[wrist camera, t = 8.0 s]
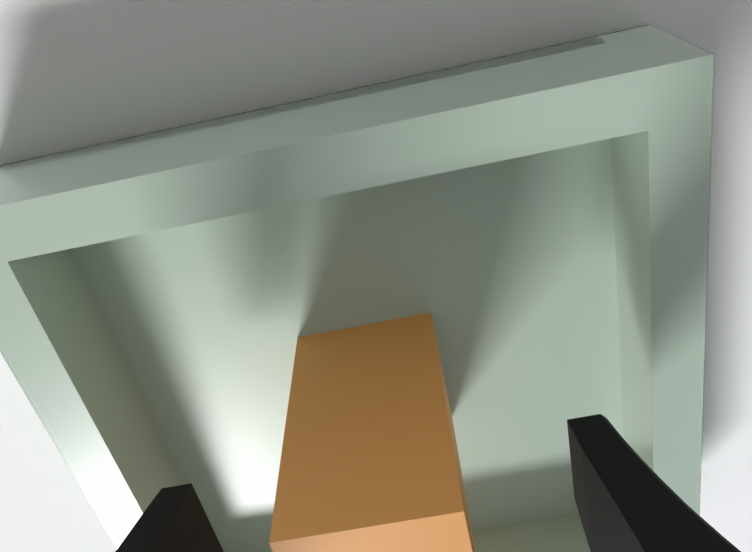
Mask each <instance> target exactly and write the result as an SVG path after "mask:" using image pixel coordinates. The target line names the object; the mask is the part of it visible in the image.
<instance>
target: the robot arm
mask: <svg viewBox="0 0 752 552" xmlns="http://www.w3.org/2000/svg"><path fill="white" fill-rule="evenodd" d="M567 426H568V436H569V447H570V457H571V467H572V478H573V488H574V498H575V501H576V505H577V508H578V512H579V515H580V518H581V522H582V525H583V529H584V532H585V535H586V538H587V542H588V545H589V548H590V551H591V552H741V551H740V550H738V549H737V548H736V547H735V546H734V545H732V544H731V543H730V542H729V541H728V540H726V539H725V538H724V537H723V536H722V535H721V534H719V533H718V532H717V531H716V530H715V529H714V528H713V527H711V526H710V525H709V524H708V523H707V522H706V521H705V520H704V519H702V518H701V517H700V516H699V515H698V514H697V513H696V512H695V511H694V510H693V509H692V508H690V507H689V506H688V505H687V504H686V503H685V502H684V501H683V500H682V499H681V498H680V497H679V496H678V495H677V494H676V493H675V492H674V491H673V490H672V489H671V488H670V487H669V486H668V485H667V484H666V483H665V482H664V481H663V480H662V479H661V478H660V477H659V476H658V475H657V474H656V473H655V472H654V471H653V470H652V469H651V468H650V467H649V466H648V465H647V464H646V463H645V462H644V461H643V460H642V458H641V457H640V456H639V455H638V454H637V453H636V452H635V451H634V450H633V449H632V448H631V446H630V445H629V444H628V443H627V442H626V441H625V440H624V438H623V437H622V436H621V435H620V434H619V433H618V431H617V430H616V429H615V428H614V427H613V425H612V424H611V423H610V422H609V420H608V419H607V418H606V417H604V416H603V415H601V414H597V415H591V416H585V417H579V418H574V419H568V420H567ZM116 552H224V551H223V549H222V547H221V545H220V543H219V540H218V538H217V536H216V534H215V532H214V530H213V528H212V526H211V523H210V521H209V519H208V517H207V515H206V513H205V511H204V509H203V507H202V504H201V502H200V500H199V498H198V496H197V494H196V492H195V490H194V487H193V485H192V483H190V484H185V485H179V486H173V487H167V488H161V490H160V491H159V492H158V494H157V495H156V496H155V498H154V499H153V501H152V502H151V503H150V505H149V506H148V507H147V509H146V510H145V512H144V513H143V514H142V516H141V517H140V518H139V520H138V521H137V523H136V524H135V525H134V527H133V528H132V530H131V531H130V532H129V534H128V535H127V537H126V538H125V539H124V541H123V542H122V543H121V545H120V546H119V548H118V549H117V550H116Z"/></svg>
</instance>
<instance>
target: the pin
mask: <svg viewBox="0 0 752 552" xmlns="http://www.w3.org/2000/svg"><path fill="white" fill-rule="evenodd" d="M269 544H270V547H271V549H272V551H273V552H475V546H474V541H473V535H472V529H471V523H470V517H469V512H468V506H467V500H466V494H465V489H464V483H463V477H462V471H461V466H460V460H459V454H458V448H457V443H456V437H455V431H454V425H453V419H452V414H451V409H450V404H449V399H448V394H447V389H446V384H445V380H444V375H443V370H442V365H441V360H440V355H439V350H438V345H437V340H436V335H435V330H434V325H433V320H432V315H431V313H425V314H420V315H415V316H409V317H404V318H399V319H393V320H388V321H383V322H377V323H372V324H367V325H361V326H356V327H350V328H345V329H340V330H334V331H329V332H324V333H318V334H313V335H308V336H302V337H297V344H296V352H295V359H294V366H293V373H292V381H291V388H290V395H289V402H288V409H287V417H286V424H285V431H284V438H283V445H282V453H281V460H280V467H279V474H278V482H277V489H276V496H275V503H274V510H273V518H272V525H271V532H270V539H269Z"/></svg>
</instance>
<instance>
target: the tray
mask: <svg viewBox="0 0 752 552" xmlns="http://www.w3.org/2000/svg"><path fill="white" fill-rule="evenodd" d="M713 66H714V54H712V53H710V52H708V51H705V50H703V49H701V48H699V47H697V46H695V45H693V44H691V43H689V42H687V41H684V40H682V39H680V38H678V37H676V36H674V35H672V34H670V33H668V32H665V31H663V30H661V29H659V28H657V27H655V26H653V25H647V26H643V27H638V28H633V29H629V30H624V31H619V32H615V33H610V34H606V35H601V36H596V37H592V38H587V39H583V40H578V41H573V42H569V43H564V44H560V45H555V46H550V47H546V48H541V49H537V50H532V51H527V52H523V53H518V54H513V55H509V56H504V57H500V58H495V59H490V60H486V61H481V62H477V63H472V64H467V65H463V66H458V67H454V68H449V69H444V70H440V71H435V72H431V73H426V74H421V75H417V76H412V77H407V78H403V79H398V80H394V81H389V82H384V83H380V84H375V85H371V86H366V87H361V88H357V89H352V90H348V91H343V92H338V93H334V94H329V95H325V96H320V97H315V98H311V99H306V100H301V101H297V102H292V103H288V104H283V105H278V106H274V107H269V108H265V109H260V110H255V111H251V112H246V113H242V114H237V115H232V116H228V117H223V118H218V119H214V120H209V121H205V122H200V123H195V124H191V125H186V126H182V127H177V128H172V129H168V130H163V131H159V132H154V133H149V134H145V135H140V136H136V137H131V138H126V139H122V140H117V141H112V142H108V143H103V144H99V145H94V146H89V147H85V148H80V149H76V150H71V151H66V152H62V153H57V154H53V155H48V156H43V157H39V158H34V159H30V160H25V161H20V162H16V163H11V164H6V165H2V166H0V352H1V354H2V355H3V357H4V359H5V361H6V362H7V364H8V366H9V367H10V369H11V371H12V372H13V374H14V376H15V378H16V379H17V381H18V383H19V384H20V386H21V388H22V389H23V391H24V393H25V395H26V396H27V398H28V400H29V401H30V403H31V405H32V406H33V408H34V410H35V412H36V413H37V415H38V417H39V418H40V420H41V422H42V423H43V425H44V427H45V429H46V430H47V432H48V434H49V435H50V437H51V439H52V440H53V442H54V444H55V446H56V447H57V449H58V451H59V452H60V454H61V456H62V457H63V459H64V461H65V462H66V464H67V466H68V468H69V469H70V471H71V473H72V474H73V476H74V478H75V479H76V481H77V483H78V485H79V486H80V488H81V490H82V491H83V493H84V495H85V496H86V498H87V500H88V502H89V503H90V505H91V507H92V508H93V510H94V512H95V513H96V515H97V517H98V519H99V520H100V522H101V524H102V525H103V527H104V529H105V530H106V532H107V534H108V536H109V537H110V539H111V541H112V542H113V544H114V546H115V547H116V549H118V548H119V546H120V545H121V543H122V542H123V541H124V539H125V538H126V537H127V535H128V534H129V532H130V531H131V530H132V528H133V527H134V525H135V524H136V523H137V521H138V520H139V518H140V517H141V516H142V514H143V513H144V512H145V510H146V509H147V507H148V506H149V505H150V503H151V502H152V501H153V499H154V498H155V496H156V495H157V494H158V492H159V491H160V490H161V488H167V487H173V486H179V485H185V484H190V483H192V485H193V487H194V490H195V492H196V494H197V496H198V498H199V500H200V502H201V504H202V507H203V509H204V511H205V513H206V515H207V517H208V519H209V521H210V523H211V526H212V528H213V530H214V532H215V534H216V536H217V538H218V540H219V543H220V545H221V547H222V549H223V551H224V552H273V551H272V549H271V547H270V544H269V539H270V532H271V525H272V518H273V510H274V503H275V496H276V489H277V482H278V474H279V467H280V460H281V453H282V445H283V438H284V431H285V424H286V417H287V409H288V402H289V395H290V388H291V381H292V373H293V366H294V359H295V352H296V344H297V337H302V336H308V335H313V334H318V333H324V332H329V331H334V330H340V329H345V328H350V327H356V326H361V325H367V324H372V323H377V322H383V321H388V320H393V319H399V318H404V317H409V316H415V315H420V314H425V313H431V315H432V320H433V325H434V330H435V335H436V340H437V345H438V350H439V355H440V360H441V365H442V370H443V375H444V380H445V384H446V389H447V394H448V399H449V404H450V409H451V414H452V419H453V425H454V431H455V437H456V443H457V448H458V454H459V460H460V466H461V471H462V477H463V483H464V489H465V494H466V500H467V506H468V512H469V517H470V523H471V529H472V535H473V541H474V546H475V552H591V551H590V548H589V545H588V542H587V538H586V535H585V532H584V529H583V525H582V522H581V518H580V515H579V512H578V508H577V505H576V501H575V498H574V488H573V478H572V467H571V457H570V447H569V436H568V426H567V420H568V419H574V418H579V417H585V416H591V415H597V414H601V415H603V416H604V417H606V418H607V419H608V420H609V422H610V423H611V424H612V425H613V427H614V428H615V429H616V430H617V431H618V433H619V434H620V435H621V436H622V437H623V438H624V440H625V441H626V442H627V443H628V444H629V445H630V446H631V448H632V449H633V450H634V451H635V452H636V453H637V454H638V455H639V456H640V457H641V458H642V460H643V461H644V462H645V463H646V464H647V465H648V466H649V467H650V468H651V469H652V470H653V471H654V472H655V473H656V474H657V475H658V476H659V477H660V478H661V479H662V480H663V481H664V482H665V483H666V484H667V485H668V486H669V487H670V488H671V489H672V490H673V491H674V492H675V493H676V494H677V495H678V496H679V497H680V498H681V499H682V500H683V501H684V502H685V503H686V504H687V505H688V506H689V507H690V508H692V509H693V510H694V511H695V512H696V513H697V514H698V515H699V516H700V485H701V453H702V420H703V388H704V356H705V324H706V291H707V259H708V227H709V195H710V162H711V130H712V98H713Z"/></svg>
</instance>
